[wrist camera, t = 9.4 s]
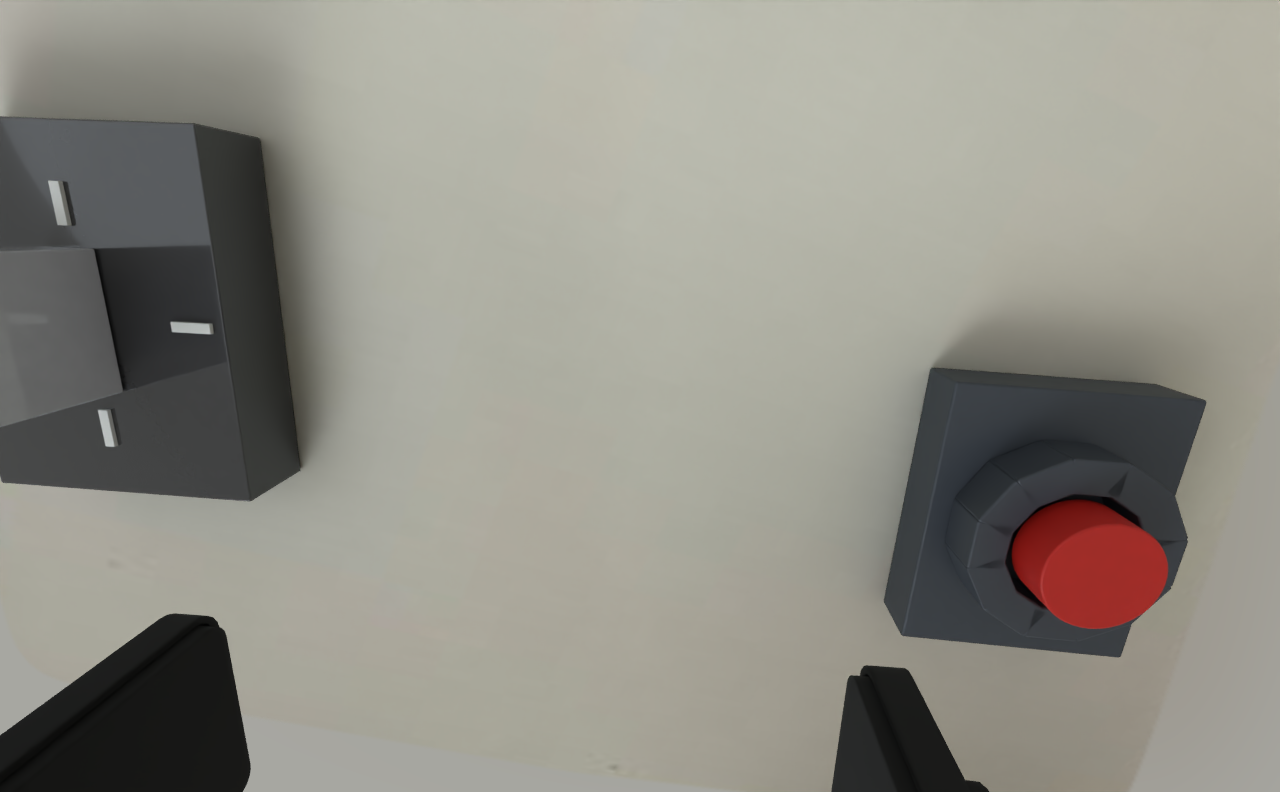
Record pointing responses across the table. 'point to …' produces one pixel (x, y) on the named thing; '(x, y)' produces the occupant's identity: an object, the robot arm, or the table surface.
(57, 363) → the hob knob
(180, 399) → the panel
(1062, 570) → the stop button
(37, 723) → the robot arm
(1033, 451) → the stop block
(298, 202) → the table surface
